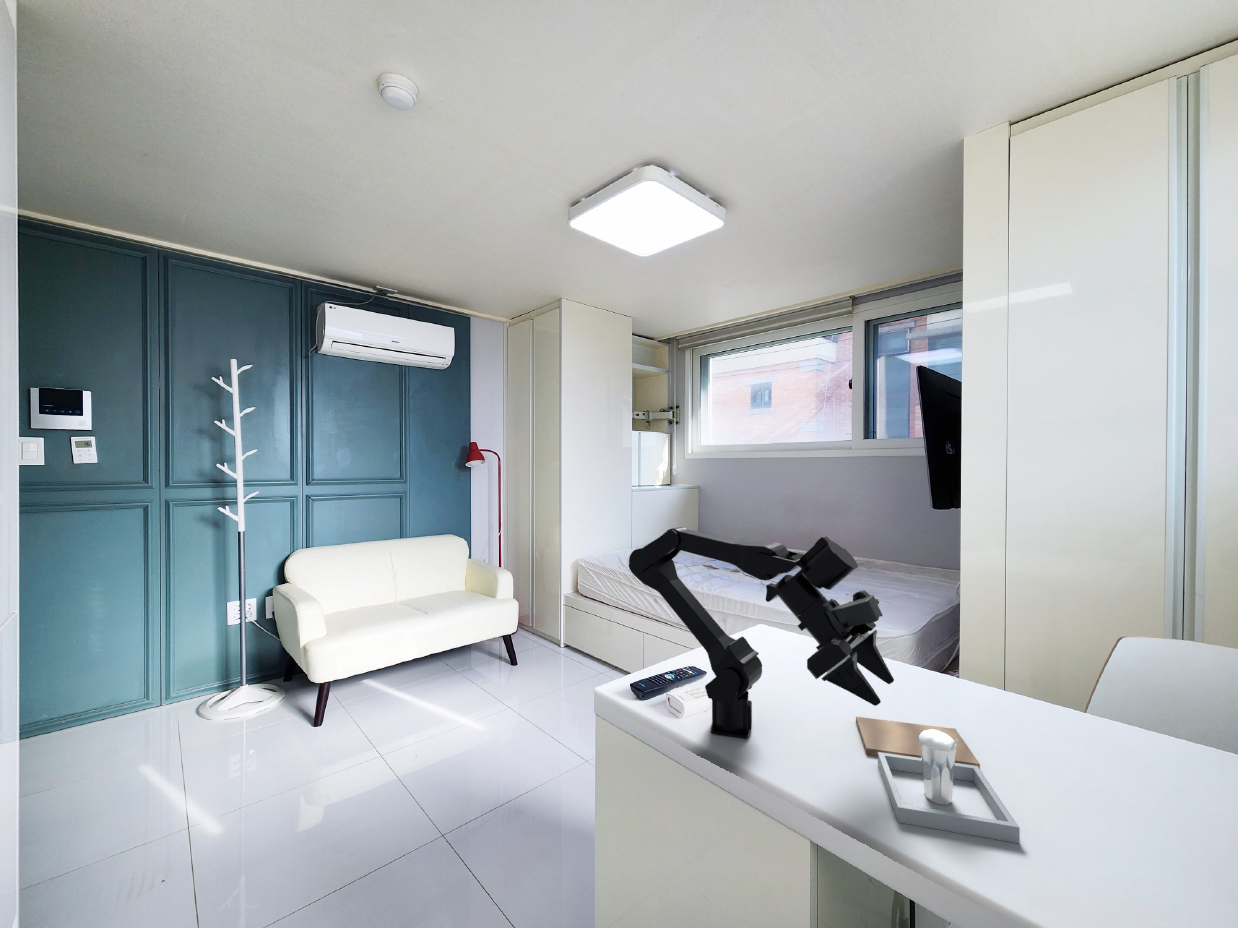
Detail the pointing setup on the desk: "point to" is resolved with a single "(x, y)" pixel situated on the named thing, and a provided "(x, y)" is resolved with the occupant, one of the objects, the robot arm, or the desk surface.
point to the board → (905, 739)
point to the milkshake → (938, 765)
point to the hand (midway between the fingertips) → (885, 692)
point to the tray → (946, 820)
